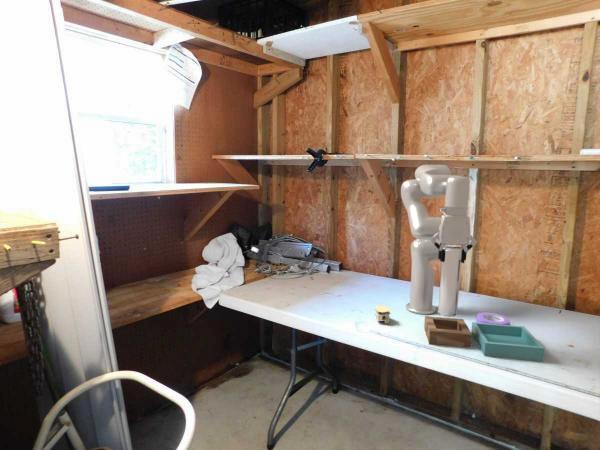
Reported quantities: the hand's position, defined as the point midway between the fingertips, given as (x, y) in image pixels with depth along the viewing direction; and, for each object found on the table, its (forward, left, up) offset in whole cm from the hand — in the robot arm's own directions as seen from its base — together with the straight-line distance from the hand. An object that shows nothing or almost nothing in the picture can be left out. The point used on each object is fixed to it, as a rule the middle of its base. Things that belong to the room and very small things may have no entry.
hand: (451, 261), depth 140 cm
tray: (+3, +19, -29) cm, 35 cm away
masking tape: (-15, +20, -29) cm, 38 cm away
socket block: (0, 0, -29) cm, 29 cm away
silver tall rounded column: (0, 0, -20) cm, 20 cm away
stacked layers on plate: (-10, -23, -29) cm, 39 cm away
